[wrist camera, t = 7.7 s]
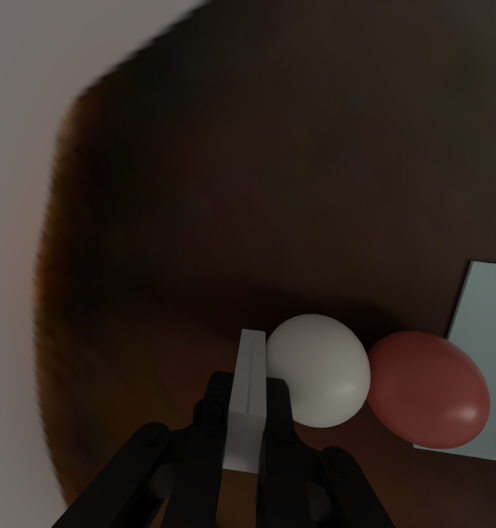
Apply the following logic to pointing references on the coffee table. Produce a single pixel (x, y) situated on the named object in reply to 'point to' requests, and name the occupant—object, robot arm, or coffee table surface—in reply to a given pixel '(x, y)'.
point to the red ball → (427, 390)
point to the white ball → (319, 369)
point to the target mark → (478, 347)
